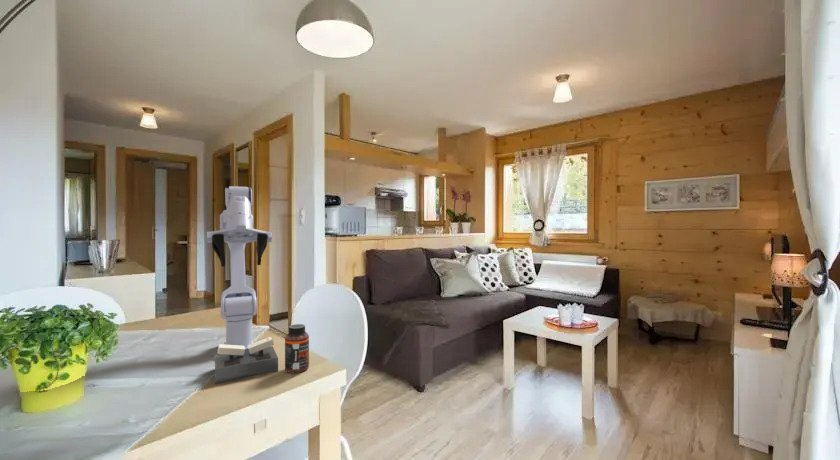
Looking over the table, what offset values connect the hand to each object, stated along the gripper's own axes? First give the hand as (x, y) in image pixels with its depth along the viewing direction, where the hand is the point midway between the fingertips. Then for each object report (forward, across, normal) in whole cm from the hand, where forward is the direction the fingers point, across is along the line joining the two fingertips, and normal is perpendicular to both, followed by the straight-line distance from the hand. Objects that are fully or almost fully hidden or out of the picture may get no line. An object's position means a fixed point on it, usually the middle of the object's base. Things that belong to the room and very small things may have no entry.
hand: (241, 263), depth 84 cm
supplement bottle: (+20, +13, +20) cm, 31 cm away
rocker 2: (+11, +5, +22) cm, 25 cm away
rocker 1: (+11, -2, +22) cm, 25 cm away
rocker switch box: (+16, +2, +24) cm, 29 cm away
